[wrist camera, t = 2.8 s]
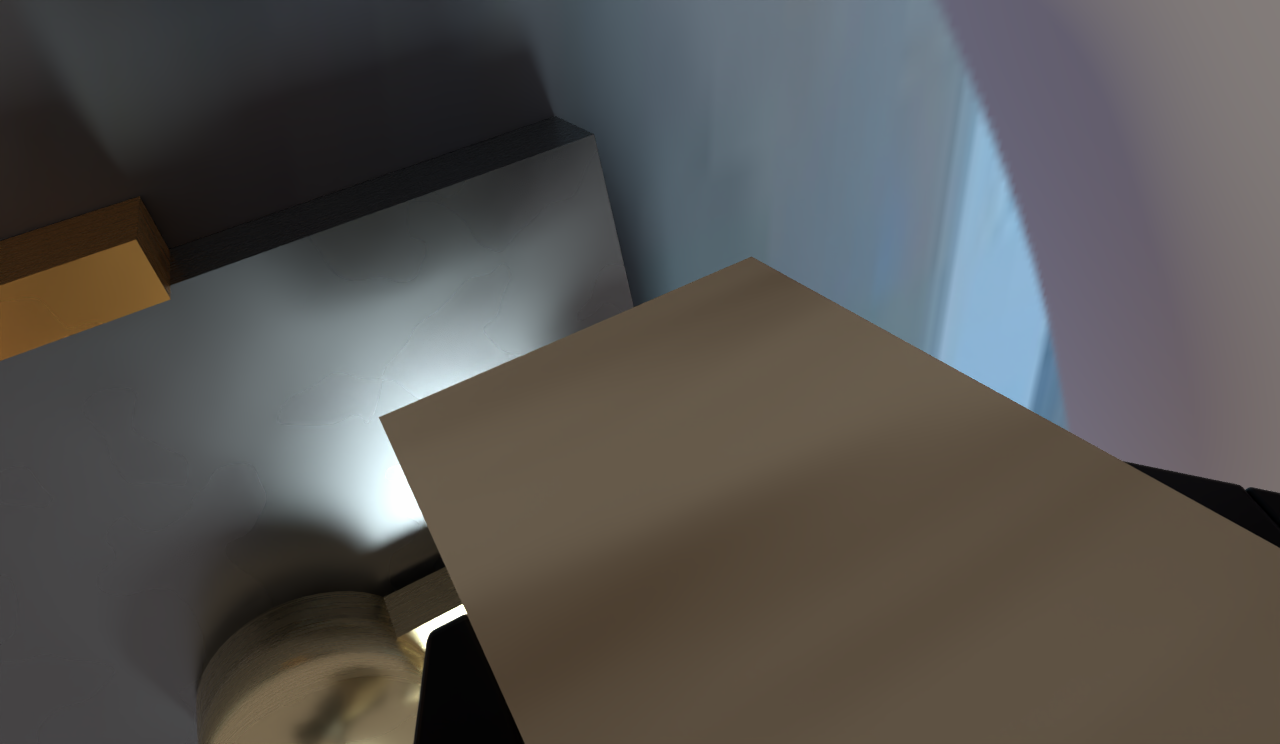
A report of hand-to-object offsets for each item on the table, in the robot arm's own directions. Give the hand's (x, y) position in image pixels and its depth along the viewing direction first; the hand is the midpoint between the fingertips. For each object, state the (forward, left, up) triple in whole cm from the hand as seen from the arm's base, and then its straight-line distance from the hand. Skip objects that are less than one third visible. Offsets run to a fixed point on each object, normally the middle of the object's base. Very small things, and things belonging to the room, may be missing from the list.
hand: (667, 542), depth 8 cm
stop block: (0, 0, -1) cm, 1 cm away
